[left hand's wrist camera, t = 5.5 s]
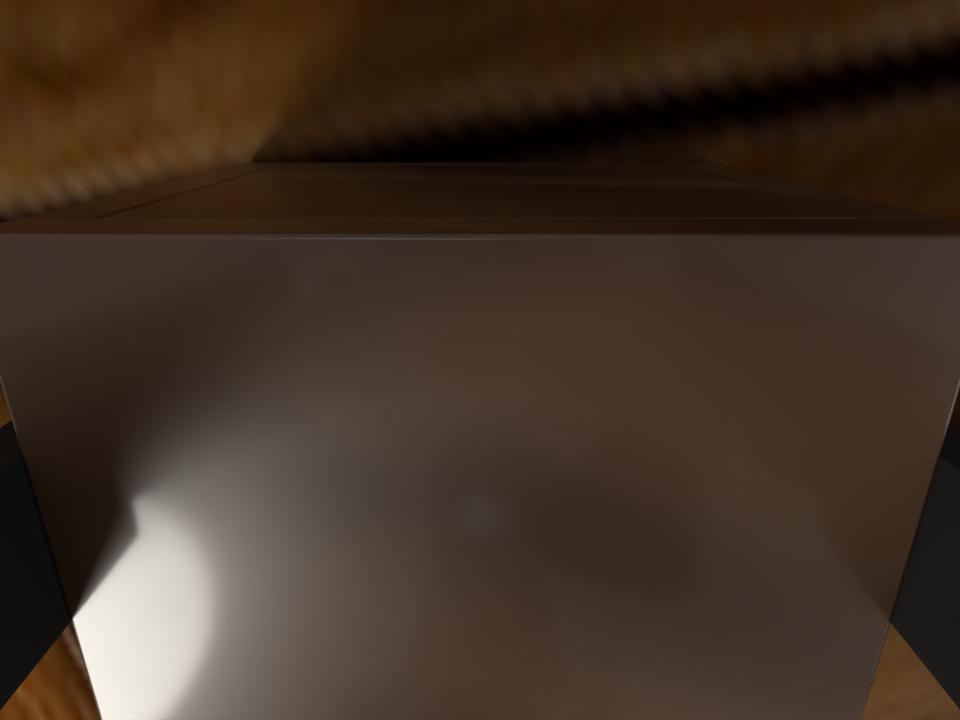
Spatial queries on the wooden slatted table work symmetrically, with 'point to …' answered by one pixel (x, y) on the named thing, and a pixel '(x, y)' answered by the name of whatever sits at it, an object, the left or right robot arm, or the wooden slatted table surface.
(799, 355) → the cabinet
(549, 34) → the wooden slatted table surface
